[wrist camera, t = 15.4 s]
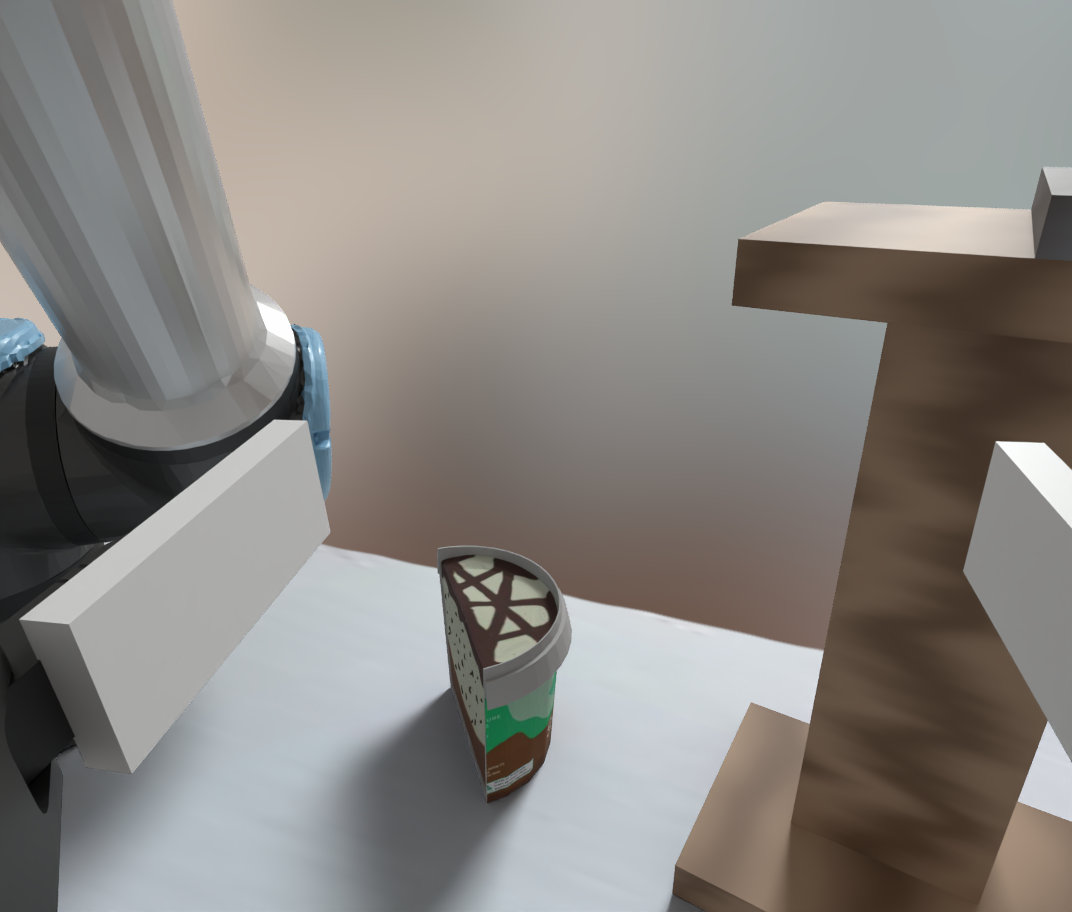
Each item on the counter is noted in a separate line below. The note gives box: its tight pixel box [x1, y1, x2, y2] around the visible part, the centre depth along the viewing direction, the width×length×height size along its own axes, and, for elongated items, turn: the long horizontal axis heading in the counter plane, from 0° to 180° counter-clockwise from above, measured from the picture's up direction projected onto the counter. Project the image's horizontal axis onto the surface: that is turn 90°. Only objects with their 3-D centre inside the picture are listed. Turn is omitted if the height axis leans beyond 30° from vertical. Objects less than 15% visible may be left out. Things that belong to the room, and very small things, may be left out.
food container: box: [437, 546, 572, 803], centre depth 42 cm, size 12×6×10 cm, turn 18°
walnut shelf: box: [672, 167, 1072, 912], centre depth 28 cm, size 16×12×32 cm
